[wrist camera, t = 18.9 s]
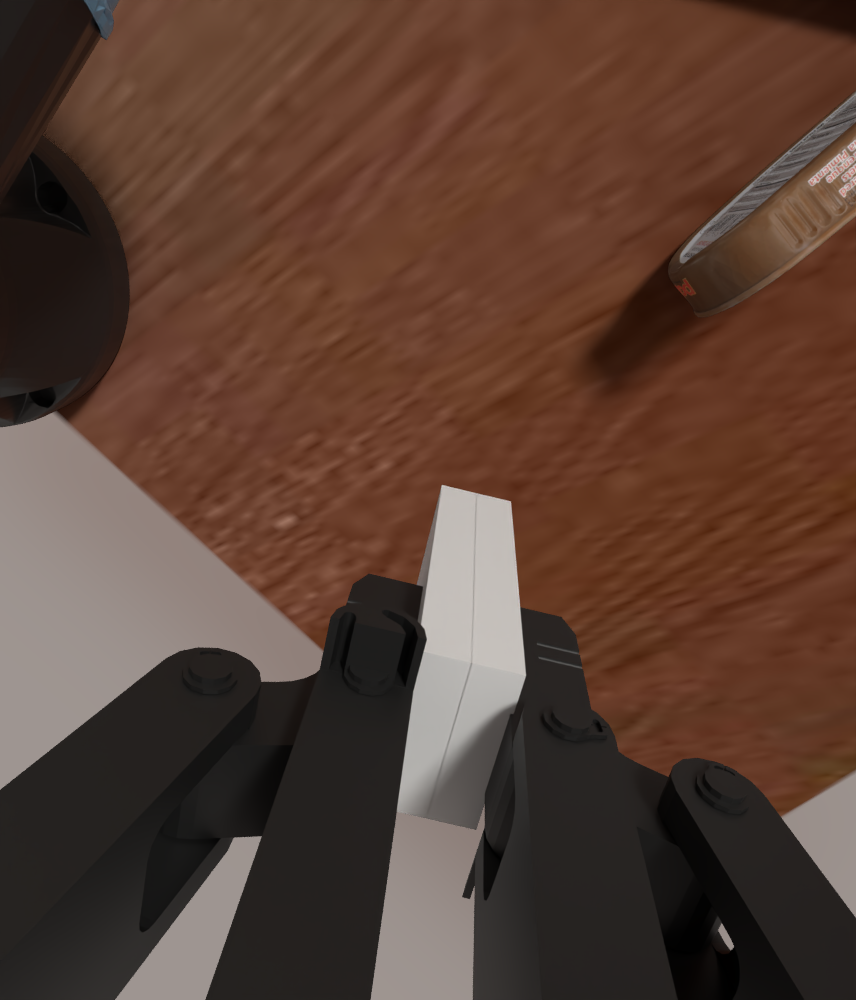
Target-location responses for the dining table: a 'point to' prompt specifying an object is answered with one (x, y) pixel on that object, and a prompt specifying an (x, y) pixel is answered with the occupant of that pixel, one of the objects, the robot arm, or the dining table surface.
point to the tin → (773, 218)
